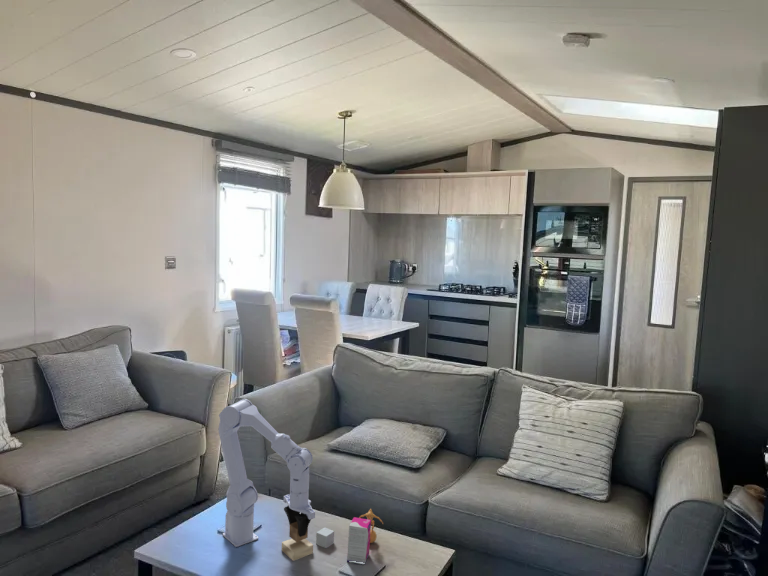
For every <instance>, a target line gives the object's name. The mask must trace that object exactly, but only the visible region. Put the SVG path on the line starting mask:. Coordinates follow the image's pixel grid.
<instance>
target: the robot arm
mask: <svg viewBox="0 0 768 576" xmlns="http://www.w3.org/2000/svg"><path fill="white" fill-rule="evenodd" d="M218 416H219V425H218V430H217V431H218V435H219V439H220V444H221V445H220V446H221V449H222V454H223V459H224V461H225V468H226V473H227V475H228V476H227V477H228V482H229V486H228V489H227V491H226V502H225V507H226V514H225V528H224V529H225V531H224V532H223V533H222V536H223V537H224V538H226V540H227V541H228V542H229V543H231V544H232V545H233V546H234V547H237V548H238V547H241V546H243V545H247V544H248V543H251V542H253V541H256V540H259V536H258V535H257V534H255V533H254V519H255V518H254V516H255V514H254V512H255V509H254V508H255V504H256V502H258V499H259V494H258V491H257V489H256V487H255V486H254V483H253V481H252V480H250V479H249V478H248V476H247V471H246V467H245V462H244V457H243V453H242V447H241V444H240V438H239V435H238V431H239V429H240V428H241V427H242V428H243V427H252V428H253V429H254V430H255V431H257V433H259V434H260V435H261V436H263V437H264V438H265V439H266V440H268V442H270V446H271V449H272V450H273V451H274V452H275V453H276V454H277V455H278V456H279V457H281V458H282V459H283V460H284V462H286V466H287V468H288V470H289V472H290V474H289V475H290V477H289V479H290V480H289V483H290V484H289V493H288V494H285V495H283V503H285V504H287V506H284V507H283V511H284V512H285V514H286V516H287V520H288V524H289V526H290V524H292V523H294V522H297V524H298V534H299V536H300V537H301V536H304V535H306V532H307V528H308V529H309V525H310V523H311V520H312V519H315V518H316V511H315V510H314V509H313V508H312V505H311V503H312V500H310V499H309V493H310V492H309V490H310V466H311V465H312V463H313V460H314V457H313V454H312V452H311V451H310V449H308V448H306V447H301V446H299V445H298V444H297V443H296V442H295V441H293V440H292V439H291V435H289V434H285V433H284V432H283V433H279V432H278V431H277V430H276V429H275V428H274V426H272V425H271V424H270V423H269V421H267V420H266V418H265V417H264V416H263V415H262V414H261V413H260V412H259V409H258V407H257V406H256V405H254V404H253V403H252V401H251V400H249V399H246V398H243V399H239V400H238V401H237V402H235V403H233V404H230V405H227V406H225V407H224V408H223V409H222V410H221V412H220V413H219V415H218Z"/></svg>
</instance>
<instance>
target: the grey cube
mask: <svg viewBox="0 0 768 576" xmlns="http://www.w3.org/2000/svg"><path fill="white" fill-rule="evenodd" d="M315 533H316V536H315V537H316V538H315V539H316V541H315V545H317V546H319V547H322V548H324V549H327V548H329V547H330V546H332V545H333V544H334V543H335V531H334V530H332V529H330V528H327V527H323V528H321V529H320V530H318V531H316V532H315Z"/></svg>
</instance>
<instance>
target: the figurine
mask: <svg viewBox="0 0 768 576" xmlns="http://www.w3.org/2000/svg"><path fill="white" fill-rule="evenodd" d="M364 517H366V519H368V520H371V531H370V544H373V543H374V542H376V540H377V532H376V531H375V530H374V528H375V527H374V526H375V520H373V518H375V519H376V520H379V521H380V523H382V525H384V522H383V520H382V519H381V518H380V517H379V516H377V515H375V514H374V512H373V510H372V508H370V509H369V510H368V512H366V513H365V514H361V515H359V517H358V518H364Z"/></svg>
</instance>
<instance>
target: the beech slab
mask: <svg viewBox="0 0 768 576" xmlns="http://www.w3.org/2000/svg"><path fill="white" fill-rule="evenodd" d="M281 552H283V554H285V555H286V556H287V557H288V558H289V559H291V561H292V562H295V561H297V560H299V559H302V558H304V557H307V556H309V555H313V554H314V544H313V543H312V542H310V541H309V540H308V538H306V539H303V540H301V541H298V542H296V541H295V540H293V539H292V538H290V539H287V540H283V541H281Z"/></svg>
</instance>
